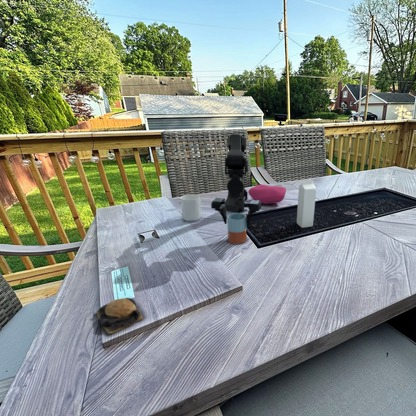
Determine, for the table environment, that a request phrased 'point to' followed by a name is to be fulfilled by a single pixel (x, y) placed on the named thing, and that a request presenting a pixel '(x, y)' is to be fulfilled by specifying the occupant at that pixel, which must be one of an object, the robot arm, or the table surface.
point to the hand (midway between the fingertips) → (237, 224)
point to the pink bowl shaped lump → (267, 193)
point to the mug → (191, 207)
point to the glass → (236, 222)
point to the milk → (306, 203)
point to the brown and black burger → (118, 315)
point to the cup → (237, 237)
